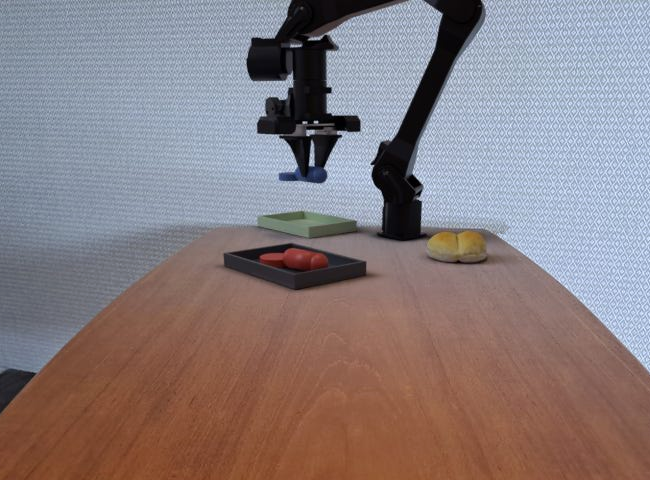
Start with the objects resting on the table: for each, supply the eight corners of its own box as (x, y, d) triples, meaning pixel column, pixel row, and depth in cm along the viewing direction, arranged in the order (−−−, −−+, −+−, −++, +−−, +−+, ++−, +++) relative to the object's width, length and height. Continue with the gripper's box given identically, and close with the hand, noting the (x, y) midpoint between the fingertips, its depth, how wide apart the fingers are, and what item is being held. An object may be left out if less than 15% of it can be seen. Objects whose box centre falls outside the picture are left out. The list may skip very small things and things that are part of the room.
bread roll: (428, 251, 106) (429, 225, 105) (486, 253, 104) (488, 227, 103) (422, 262, 99) (424, 234, 97) (485, 265, 97) (487, 237, 95)
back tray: (356, 230, 123) (356, 220, 123) (308, 238, 117) (308, 226, 116) (303, 220, 135) (303, 210, 134) (257, 225, 128) (257, 215, 128)
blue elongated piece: (334, 183, 118) (334, 166, 117) (314, 185, 115) (314, 168, 114) (293, 178, 127) (293, 162, 126) (273, 179, 124) (273, 164, 123)
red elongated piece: (337, 272, 91) (337, 252, 90) (313, 278, 88) (313, 257, 87) (277, 259, 98) (276, 240, 97) (253, 264, 95) (252, 245, 94)
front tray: (366, 275, 91) (366, 261, 91) (294, 289, 84) (294, 274, 83) (292, 254, 104) (291, 242, 103) (224, 266, 96) (223, 252, 96)
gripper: (322, 83, 125) (323, 170, 130) (236, 81, 114) (241, 176, 119) (363, 81, 117) (362, 174, 122) (275, 79, 106) (278, 181, 111)
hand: (311, 176), depth 119 cm, fingers closed on blue elongated piece, 3 cm apart
